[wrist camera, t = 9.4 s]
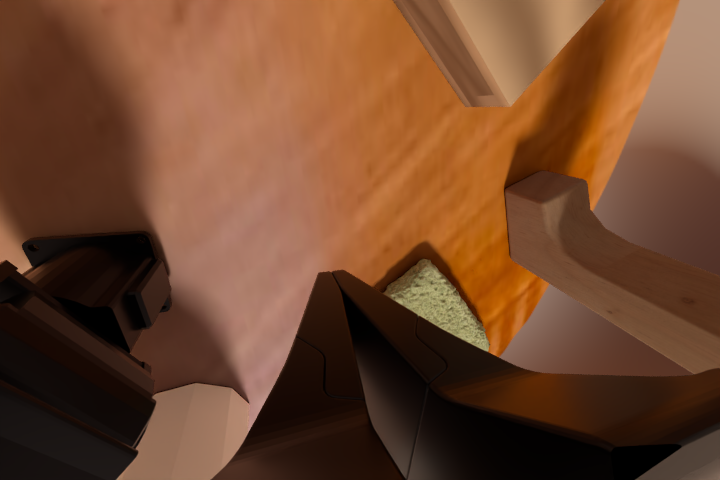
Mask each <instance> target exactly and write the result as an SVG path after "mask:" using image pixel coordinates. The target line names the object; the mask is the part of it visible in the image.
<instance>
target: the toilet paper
mask: <svg viewBox="0 0 720 480" xmlns="http://www.w3.org/2000/svg"><path fill="white" fill-rule="evenodd" d="M152 398H153V399H155V400H156V407H155V410H154V412H153V414H152V417H151V419H150V421H149V423H148V426H147V429H146V431H145V434H144V435H143V437H142V439H141V441H140V443H139V444H138V446H137V447H136V450H138V455H137V457H136V458H135V459H134V460H133V462H132V463H131V464H130V465H129V466H128V467H127V468H126V469H125V470H124V471H123V473H122V474H121V475H120V476H119V477H118V478H117V479H116V480H211V479H212V478H213V477H214V476H215V475H216V474H217V473H218V472H219V471H221V470H222V469H223V468H224V467H225V466H226V465H227V463H228V462H229V461H230V460H231V459H232V457H233V456H234V455H235V453H236V452H237V451H238V449H239V448H240V446H241V445H242V443H243V441H244V440H245V438H246V436H247V434H248V421H249V405H250V404H249V403H247V402H246V401H245V400H244V399H243V398H242V397H241V396H240V395H239V394H238V393H237V392H235V391H234V390H233V389H232V388H228V387H221V386H214V385H207V384H199V383H194V384H190V385H187V386H183V387H179V388H175V389H172V390H168V391H164V392H160V393H157V394H155V395H154V396H153V397H152Z"/></svg>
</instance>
